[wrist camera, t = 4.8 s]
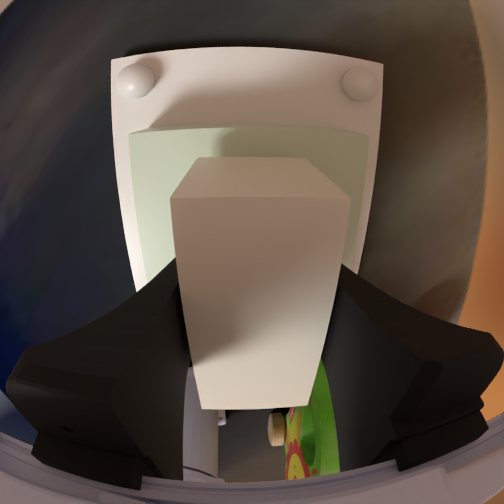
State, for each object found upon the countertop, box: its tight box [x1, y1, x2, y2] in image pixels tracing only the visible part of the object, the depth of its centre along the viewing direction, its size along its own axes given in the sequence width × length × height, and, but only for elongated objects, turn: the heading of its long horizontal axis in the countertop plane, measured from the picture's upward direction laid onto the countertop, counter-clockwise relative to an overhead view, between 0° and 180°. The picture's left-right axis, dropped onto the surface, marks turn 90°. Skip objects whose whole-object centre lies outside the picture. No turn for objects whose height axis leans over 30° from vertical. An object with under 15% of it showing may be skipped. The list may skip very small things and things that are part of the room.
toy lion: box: [268, 358, 340, 480], centre depth 19 cm, size 16×5×15 cm, turn 178°
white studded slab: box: [111, 47, 383, 292], centre depth 15 cm, size 18×14×4 cm
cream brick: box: [170, 157, 351, 409], centre depth 10 cm, size 8×4×5 cm, turn 179°
